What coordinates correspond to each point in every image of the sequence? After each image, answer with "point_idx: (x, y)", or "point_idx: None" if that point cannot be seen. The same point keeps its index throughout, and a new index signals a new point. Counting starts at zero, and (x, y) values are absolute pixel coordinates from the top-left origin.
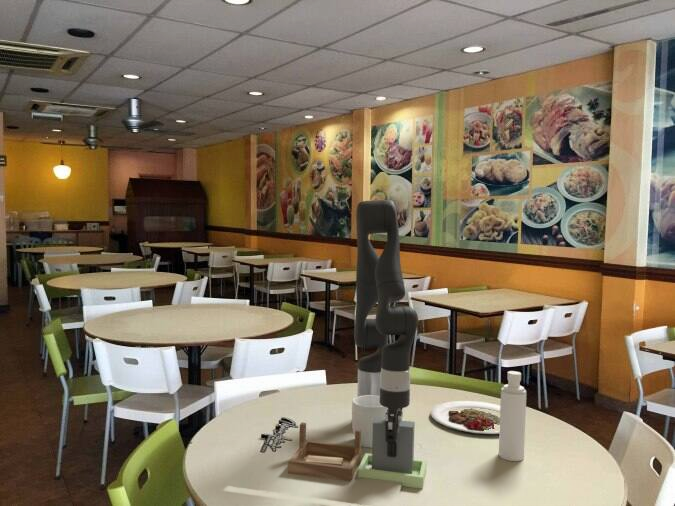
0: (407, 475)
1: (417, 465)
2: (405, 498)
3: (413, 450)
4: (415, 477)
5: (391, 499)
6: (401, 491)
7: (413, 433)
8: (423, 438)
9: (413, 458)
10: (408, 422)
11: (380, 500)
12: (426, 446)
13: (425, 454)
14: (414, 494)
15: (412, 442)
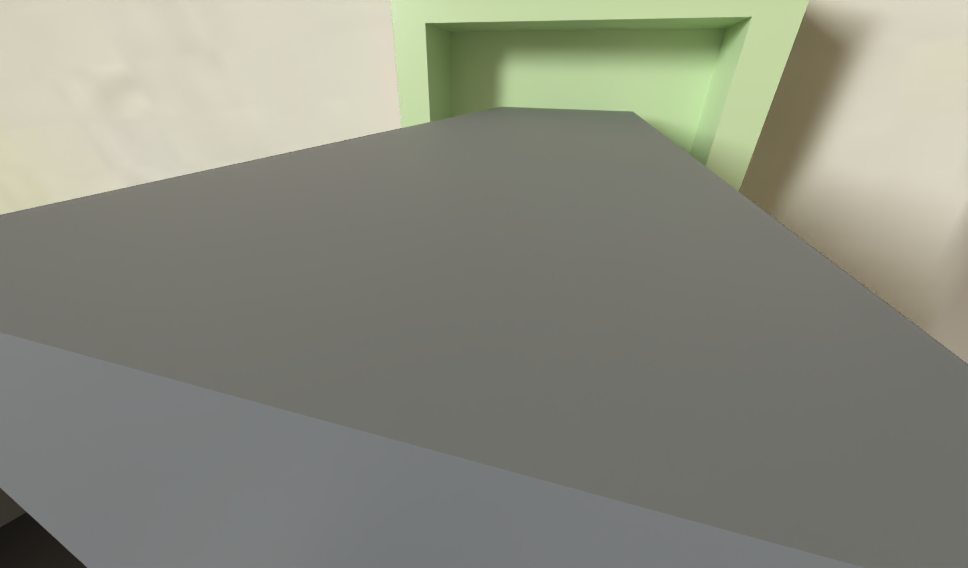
0: (753, 148)
1: (442, 74)
2: (953, 136)
3: (485, 120)
4: (784, 60)
5: (943, 242)
6: (803, 175)
7: (476, 180)
8: (33, 77)
9: (486, 111)
10: (125, 540)
11: (941, 310)
12: (101, 45)
13: (197, 39)
14: (882, 60)
15: (694, 161)
